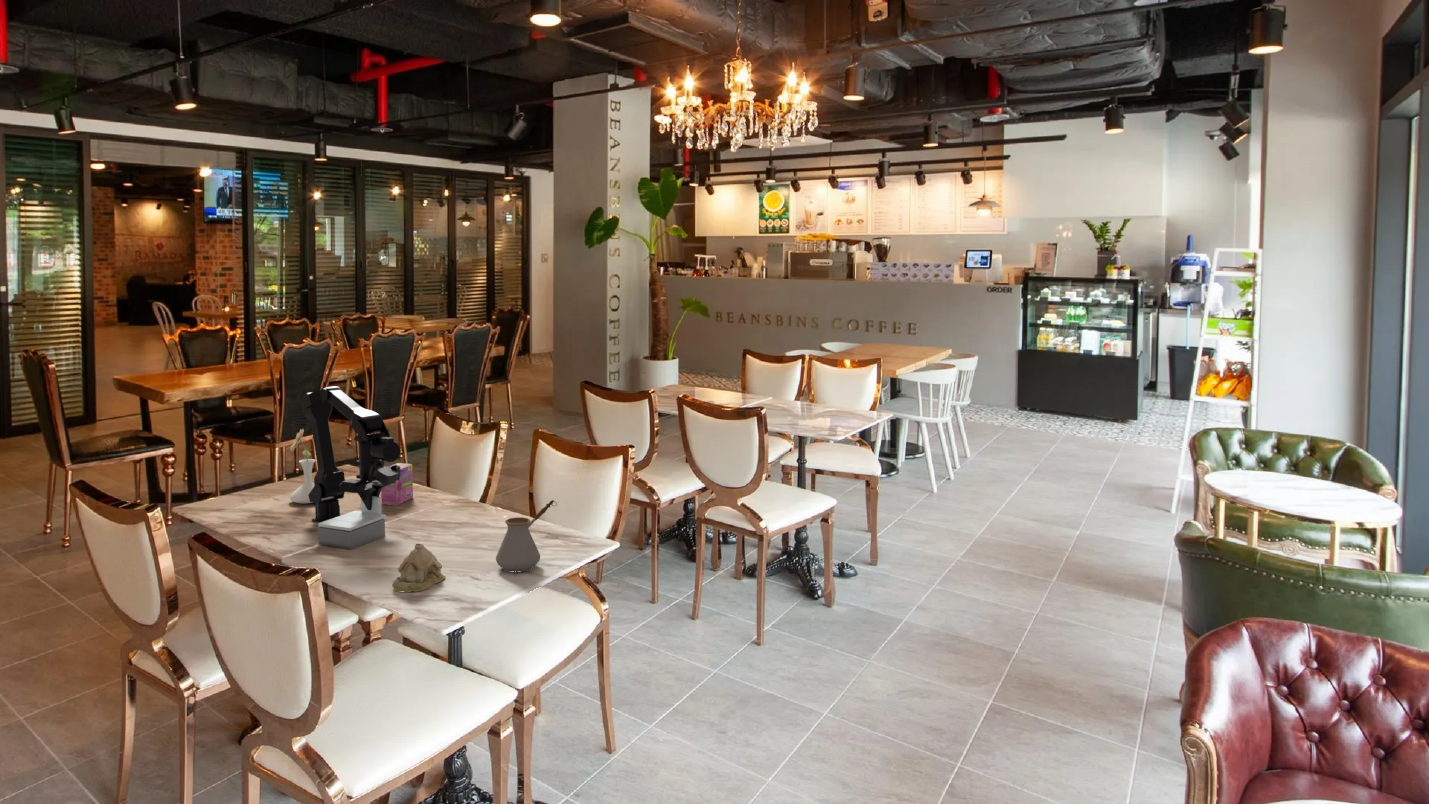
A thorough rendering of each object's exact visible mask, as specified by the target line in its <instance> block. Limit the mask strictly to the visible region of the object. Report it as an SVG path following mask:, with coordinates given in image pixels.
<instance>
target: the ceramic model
mask: <svg viewBox="0 0 1429 804" xmlns="http://www.w3.org/2000/svg"><path fill="white" fill-rule="evenodd" d="M442 569H443V565H442V563H441V562H439V561H438V559H437V557H436V555H434V554H433V553H432V552H431V551H430V550H428V548H427V547H425V546H424V544H422V543H415V545H414V549H412V550H411V551H410V553H409V554H408V555H407V556H405V557H404V559H403V561H402V562H401V564H400V565H399V567H398V569H397V572H398V573H399V574H400V575H399V576H397V577H396V578H395V579H394V580H393V582H392V588H393V590H394V591H395V592H397V591H404V592H403V593H412V592H411V591H414V593H415V592H420V591H421V592H422V591H424V590H427V589H429V588H430V587H432V586H433V585H436V584H437V583H439V582H441V581H444V580H445V579H446V575H444V574H443V573H441V572H442V571H441V570H442Z"/></svg>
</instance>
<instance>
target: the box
mask: <svg viewBox="0 0 1429 804" xmlns="http://www.w3.org/2000/svg"><path fill="white" fill-rule="evenodd" d="M393 465H398V466H400V471H401V473H400V475H401V476H400V477H399V480H396V483H392V484H390V485H388V486H385V487H384V488H383V489H382V490H381V492H380V497H381V505H383V504H390V505H389V506H393V505H397V506H399V505H400V504H403V503H404V501H405V502H407V501H408V500H410V499H413V498H414V487H413V484H414V483H413V481H414V479H413V478H414V477H413V463H412V464H411V463H404V462H403V463H402V462H397V463H395V464H392V465H389V466H390V468H391V467H392V466H393ZM398 504H399V505H398Z"/></svg>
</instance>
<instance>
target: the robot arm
mask: <svg viewBox="0 0 1429 804" xmlns="http://www.w3.org/2000/svg"><path fill="white" fill-rule="evenodd" d="M299 404H300V405H299V406H300V407H301V410H302V415H304V417H305V419H307V420H308V421H309V423H310V428H311V434H312V442H313V446H314V452H315V460H316V465H317V471H316V473H315V476H314V478H313V483H314V487H313V489H312V490H311V492H310V493H309V495H308V496H309V500H310V502H313V503H314V506H315V507H314V509H315V511H314V512H315V513H314V514H315V517H313V518H311V521H312V522H318V523H321V522H324V521H327V520H329V519H332V518H335V517H338V516H341V511H340V510H341V505H340V504H339V501H340V500H342V499H344V498H345V493H351V494H357V495H358V496H359V497H360V500H361V499H362V501H363V503H364V504H365V506H366V508H367V510H371V508H372V496H377V497H380V496H381V490H382V489H383V488H384V487H385V486H388V485H390V484H392V483H396V480H399V477H400V476H401V475H400V473H401V471H400V466H398V465H394V464H392V465H393V466H392V465H389V466H387V465H385V462H389V463H393V462H395V461H396V460H397V459H398V458H399V457H400V455H401V448H400V445H398V443H397V442H394V439H395V438H394V437H391V434H390V431H389V429H388V428H387V426H386V424H385V422H384V420H383V417H382V416H381V415H380V414H379V413H377V412H376V411H373V410H371V409H366V408H364V407H362V406H361V405H360V404H359V403H357V402H356V401H355V400H353V399H352V398H351V397H349V396H348V395H347V394H346V393H345V392H343V390H342V388H341V387H339V386H328V387H323V388H321V389H319V390H317V391H311V392H305V393H303V394H302V396H301V397H300V399H299ZM333 407H334V408H335V409H336V410H337V411H338V412H339V413H341V415H343V416H344V417H346V418H347V419H348V420H349V422H350V423H349V424H350V427H351V428H352V430H353V431H354V432H355V433H356V434H357V435H356V436H354V438H353V440H354V441H356V442H357V444H358V447H357V448H358V460H356V461H355V465H356V466H358V469H359V470H358V471H359V474H356V476H355V477H356V478H355V479H353V478H349V479H346V478H345V472H344V471H343V470H340V469H339V468H338V466H337V465H336V461H335V455H334V448H333V441H332V437H331V436H332V435H331V430H330V424H329V418H330V416H331V413H332V411H333ZM390 466H392V467H391V468H390ZM313 503H312V504H313Z"/></svg>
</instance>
